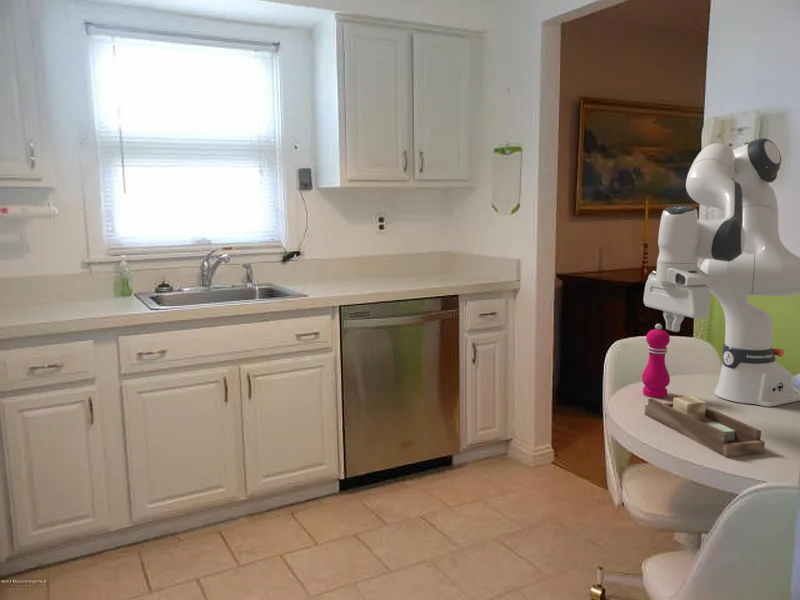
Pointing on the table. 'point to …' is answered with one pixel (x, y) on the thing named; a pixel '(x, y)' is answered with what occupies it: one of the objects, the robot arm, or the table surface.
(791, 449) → the table surface
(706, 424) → the tray
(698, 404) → the maple block
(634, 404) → the table surface
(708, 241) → the robot arm
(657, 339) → the pepper mill
